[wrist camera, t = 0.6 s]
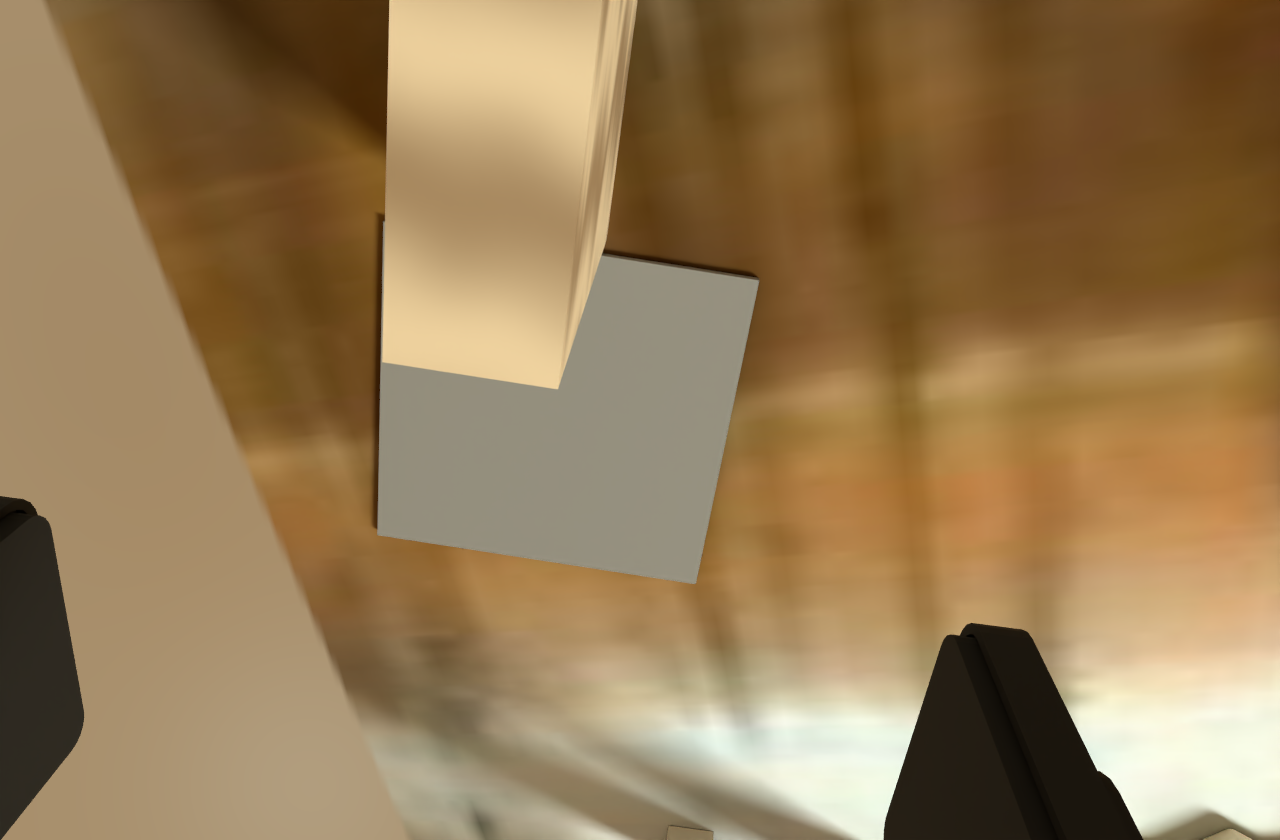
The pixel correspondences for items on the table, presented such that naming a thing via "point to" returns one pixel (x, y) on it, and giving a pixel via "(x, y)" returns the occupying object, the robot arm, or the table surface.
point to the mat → (579, 432)
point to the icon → (1228, 835)
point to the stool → (688, 834)
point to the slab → (498, 179)
